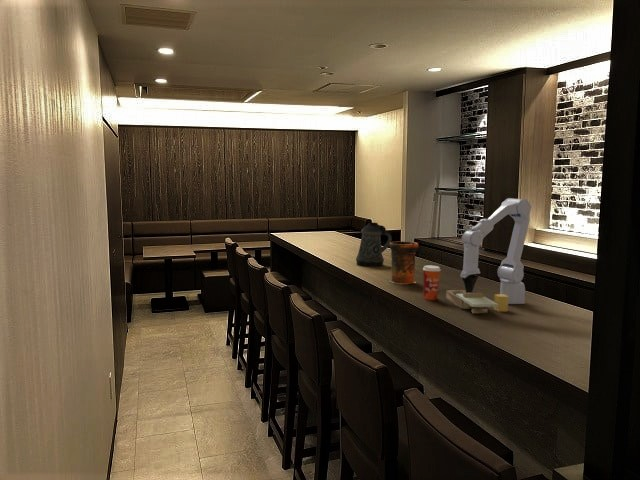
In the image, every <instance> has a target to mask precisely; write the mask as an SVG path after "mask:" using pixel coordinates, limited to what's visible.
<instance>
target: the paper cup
mask: <svg viewBox="0 0 640 480" xmlns="http://www.w3.org/2000/svg"><path fill="white" fill-rule="evenodd" d="M422 270H423V272H422V273H423V283H422V284H423V299H424V300H428V301H436V300H438V293H439V283H440V276H441V275H440V272H441V271H442V270H441V268H440V266H438V265H424V266H423V268H422Z"/></svg>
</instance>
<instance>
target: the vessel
mask: <svg viewBox="0 0 640 480" xmlns="http://www.w3.org/2000/svg"><path fill="white" fill-rule="evenodd" d="M389 248H390V253H391V254H390V256H391V268H390V269H391V279H390V280H389V281H388V283H392V284H397V285H409V284H416V283H417V282H416V281H415V269H416V268H415V267H416V254H417V250H418V249H419V243H418V242H414V241H391V243H390V244H389ZM414 281H415V282H414Z"/></svg>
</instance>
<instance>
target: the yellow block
mask: <svg viewBox="0 0 640 480" xmlns="http://www.w3.org/2000/svg"><path fill="white" fill-rule="evenodd" d="M493 295H494V296H493V302H495V303H497V304H498V307H493V310H495V311H496V310H497V312H508V309H509V304H508V296H506V295H504V294H500V293H497V294H493Z"/></svg>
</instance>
